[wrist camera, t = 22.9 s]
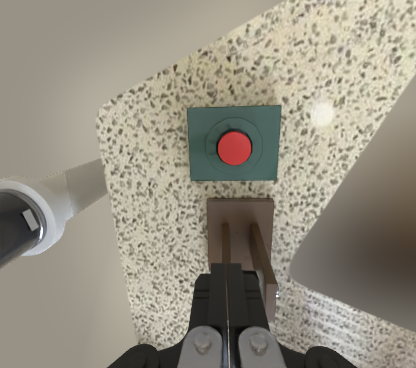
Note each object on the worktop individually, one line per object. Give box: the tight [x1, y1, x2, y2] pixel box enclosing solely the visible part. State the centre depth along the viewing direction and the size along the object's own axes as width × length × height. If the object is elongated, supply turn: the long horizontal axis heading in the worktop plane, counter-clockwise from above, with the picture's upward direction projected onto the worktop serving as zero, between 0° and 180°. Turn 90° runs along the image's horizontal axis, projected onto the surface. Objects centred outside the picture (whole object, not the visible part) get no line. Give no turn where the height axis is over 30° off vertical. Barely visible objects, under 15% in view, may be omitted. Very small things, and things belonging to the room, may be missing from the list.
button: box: [218, 131, 251, 165], centre depth 25 cm, size 4×4×2 cm
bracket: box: [207, 198, 279, 322], centre depth 27 cm, size 11×9×13 cm
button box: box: [187, 105, 281, 181], centre depth 28 cm, size 11×9×4 cm
